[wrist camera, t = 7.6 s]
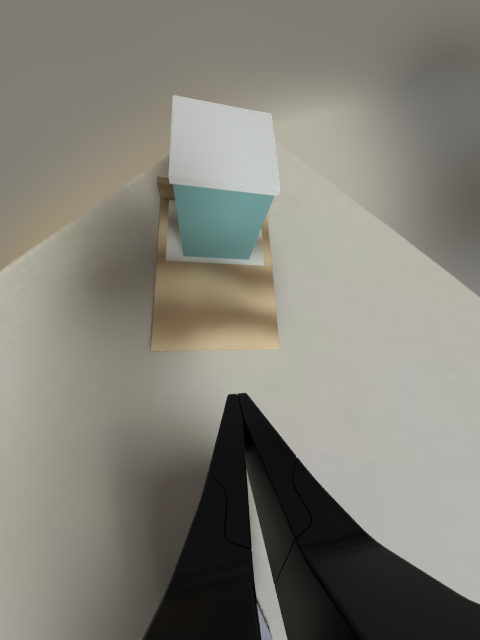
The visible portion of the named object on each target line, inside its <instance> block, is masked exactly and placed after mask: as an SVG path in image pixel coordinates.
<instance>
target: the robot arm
mask: <svg viewBox="0 0 480 640" xmlns="http://www.w3.org/2000/svg"><path fill="white" fill-rule="evenodd" d="M246 468H247V472H246ZM247 473H248V477H249V481H250V485H251V489H252V493H253V498H254V502H255V506H256V510H257V514H258V518H259V523H260V527H261V531H262V535H263V539H264V543H265V547H266V552H267V556H268V560H269V564H270V568H271V572H272V577H273V581H274V584H275V589H276V593H277V598H278V602H279V606H280V610H281V614H282V618H283V622H284V627H285V631H286V635H287V639H288V640H480V604H478V603H475V602H473V601H471V600H469V599H467V598H465V597H463V596H462V595H460V594H458V593H456V592H455V591H453V590H452V589H450V588H449V587H447V586H445V585H444V584H442V583H441V582H439V581H437V580H436V579H434V578H433V577H431V576H430V575H428V574H426V573H425V572H423V571H422V570H420V569H418V568H417V567H415V566H414V565H412V564H411V563H409V562H407V561H406V560H404V559H403V558H401V557H399V556H398V555H396V554H395V553H393V552H392V551H390V550H388V549H387V548H385V547H384V546H382V545H381V544H380V543H378V542H377V541H376V540H374V539H373V538H372V537H371V536H370V535H369V534H367V533H366V532H365V531H364V530H363V529H362V528H361V527H360V526H359V525H358V524H357V523H356V522H355V521H354V520H353V519H352V517H351V516H350V515H349V514H348V513H347V512H346V511H345V510H344V509H343V508H342V507H341V506H340V505H339V504H338V503H337V502H336V501H335V500H334V499H333V498H332V497H331V496H330V494H329V493H328V492H327V491H326V490H325V489H324V488H323V487H322V486H321V485H320V484H319V483H318V482H317V480H316V479H315V478H314V477H313V476H312V475H311V473H310V472H309V471H308V470H307V469H306V467H305V466H304V465H303V464H302V462H301V461H300V460H299V459H298V458H296V455H295V454H294V453H293V451H292V450H291V449H290V447H289V446H288V445H287V444H286V442H285V441H284V440H283V439H282V437H281V436H280V435H279V434H278V432H277V431H276V430H275V429H274V427H273V426H272V425H271V424H270V422H269V421H268V420H267V418H266V417H265V416H264V415H263V413H262V412H261V411H260V410H259V408H258V407H257V406H256V405H255V403H254V402H253V401H252V400H251V398H250V397H249V396H248V395H247V394H246V393H239V394H229V395H228V396H227V400H226V404H225V408H224V412H223V416H222V420H221V424H220V427H219V431H218V435H217V439H216V443H215V447H214V451H213V455H212V459H211V462H210V466H209V472H208V474H207V478H206V481H205V485H204V489H203V492H202V496H201V499H200V502H199V505H198V508H197V511H196V513H195V516H194V519H193V522H192V525H191V527H190V530H189V532H188V535H187V538H186V540H185V543H184V546H183V548H182V551H181V554H180V556H179V559H178V562H177V564H176V567H175V570H174V572H173V575H172V577H171V580H170V582H169V585H168V587H167V589H166V591H165V594H164V596H163V598H162V600H161V603H160V605H159V607H158V609H157V611H156V613H155V615H154V617H153V619H152V621H151V623H150V625H149V627H148V629H147V631H146V633H145V635H144V637H143V639H142V640H272V636H271V633H270V631H269V629H268V626H267V624H266V622H265V619H264V617H263V615H262V612H261V610H260V608H259V605H258V603H257V600H256V592H255V583H254V574H253V562H252V551H251V533H250V518H249V502H248V487H247Z"/></svg>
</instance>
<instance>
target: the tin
mask: <svg viewBox="0 0 480 640" xmlns="http://www.w3.org/2000/svg"><path fill="white" fill-rule="evenodd" d="M168 177H169V183H170V184H173V188H174V195H175V202H176V209H177V215H178V222H179V229H180V236H181V242H182V249H183V256H189V257H206V258H224V259H241V260H249V258H250V256H251V253H252V251H253V248H254V246H255V243H256V241H257V238H258V236H259V233H260V231H261V228H262V226H263V223H264V221H265V218H266V216H267V213H268V211H269V208H270V206H271V203H272V201H273V198H274V196H278V194H279V192H280V182H279V173H278V165H277V156H276V148H275V139H274V131H273V123H272V114H269V113H264V112H259V111H253V110H248V109H243V108H238V107H232V106H227V105H221V104H216V103H211V102H206V101H201V100H196V99H190V98H185V97H180V96H174V95H173V106H172V124H171V140H170V157H169V174H168Z"/></svg>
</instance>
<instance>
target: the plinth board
mask: <svg viewBox="0 0 480 640" xmlns="http://www.w3.org/2000/svg"><path fill="white" fill-rule="evenodd" d="M157 184H158V188H159V193H160V197H161V206H160V220H159V235H158V250H157V265H156V279H155V294H154V309H153V324H152V338H151V351H185V350H233V349H278V348H279V338H278V327H277V316H276V306H275V295H274V284H273V273H272V262H271V251H270V241H269V230H268V219H267V216H266V218H265V221H264V223H263V226H262V228H261V231H260V233H259V236H258V238H257V241H256V243H255V246H254V248H253V251H252V253H251V256H250V258H249V260H241V259H224V258H206V257H189V256H183V249H182V242H181V236H180V229H179V222H178V215H177V209H176V202H175V195H174V188H173V184H170V183H169V178H162V177H158V178H157Z"/></svg>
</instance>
